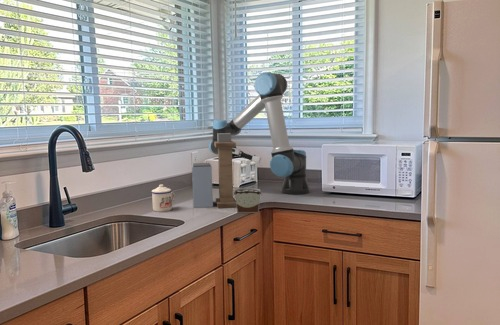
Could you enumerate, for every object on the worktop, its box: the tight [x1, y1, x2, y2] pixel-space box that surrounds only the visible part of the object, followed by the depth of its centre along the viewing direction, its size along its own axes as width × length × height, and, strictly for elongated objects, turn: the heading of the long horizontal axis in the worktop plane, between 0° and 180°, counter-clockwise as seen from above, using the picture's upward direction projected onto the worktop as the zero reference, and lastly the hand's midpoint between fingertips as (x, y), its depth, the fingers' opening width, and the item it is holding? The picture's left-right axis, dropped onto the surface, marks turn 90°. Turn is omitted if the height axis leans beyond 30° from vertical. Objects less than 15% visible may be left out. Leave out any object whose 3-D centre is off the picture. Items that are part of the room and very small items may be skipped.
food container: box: [233, 187, 262, 214], centre depth 195 cm, size 12×6×10 cm, turn 84°
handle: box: [217, 133, 232, 143], centre depth 214 cm, size 19×6×4 cm, turn 8°
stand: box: [214, 140, 237, 209], centre depth 208 cm, size 14×9×30 cm, turn 8°
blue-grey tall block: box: [191, 162, 214, 209], centre depth 210 cm, size 11×9×20 cm
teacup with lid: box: [151, 184, 176, 213], centre depth 202 cm, size 12×9×12 cm
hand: (249, 156), depth 220 cm, fingers open, 13 cm apart
